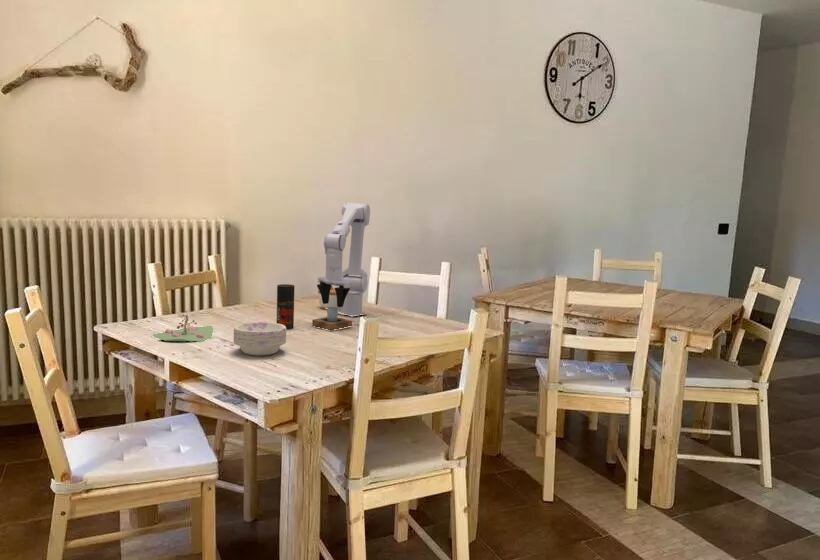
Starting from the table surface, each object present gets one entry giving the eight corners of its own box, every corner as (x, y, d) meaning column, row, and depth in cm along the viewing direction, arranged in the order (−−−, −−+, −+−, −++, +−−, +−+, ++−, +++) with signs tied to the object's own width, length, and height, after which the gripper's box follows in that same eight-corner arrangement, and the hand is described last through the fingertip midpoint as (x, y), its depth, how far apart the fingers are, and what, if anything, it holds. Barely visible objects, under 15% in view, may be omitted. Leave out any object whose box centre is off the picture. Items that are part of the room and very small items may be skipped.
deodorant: (272, 328, 221) (273, 285, 219) (283, 325, 226) (284, 283, 224) (286, 330, 218) (287, 287, 216) (297, 327, 223) (298, 285, 221)
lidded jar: (319, 311, 254) (319, 288, 253) (316, 306, 265) (316, 283, 263) (345, 311, 257) (346, 288, 256) (341, 306, 267) (342, 284, 266)
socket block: (312, 326, 226) (312, 319, 226) (332, 322, 234) (333, 316, 233) (331, 331, 220) (331, 324, 220) (351, 327, 227) (352, 320, 227)
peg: (325, 326, 227) (325, 307, 226) (332, 325, 229) (333, 306, 228) (331, 328, 224) (332, 309, 223) (339, 327, 227) (339, 308, 226)
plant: (170, 325, 219) (170, 300, 218) (230, 328, 220) (230, 303, 218) (141, 343, 195) (140, 314, 193) (208, 346, 195) (208, 317, 194)
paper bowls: (264, 343, 200) (264, 318, 198) (296, 352, 190) (296, 327, 189) (222, 351, 188) (223, 325, 187) (254, 361, 178) (255, 334, 177)
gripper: (311, 265, 225) (310, 303, 227) (339, 270, 216) (338, 309, 218) (326, 264, 231) (325, 301, 233) (354, 269, 221) (353, 307, 223)
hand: (332, 305), depth 226 cm, fingers open, 7 cm apart
